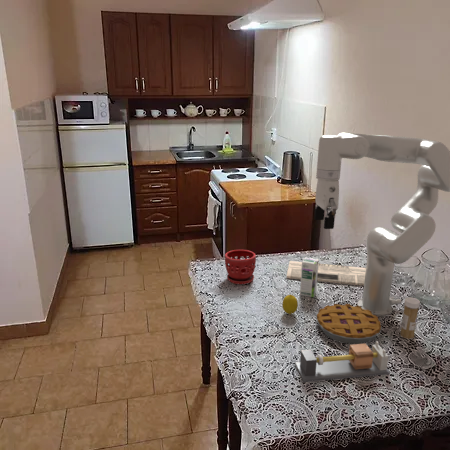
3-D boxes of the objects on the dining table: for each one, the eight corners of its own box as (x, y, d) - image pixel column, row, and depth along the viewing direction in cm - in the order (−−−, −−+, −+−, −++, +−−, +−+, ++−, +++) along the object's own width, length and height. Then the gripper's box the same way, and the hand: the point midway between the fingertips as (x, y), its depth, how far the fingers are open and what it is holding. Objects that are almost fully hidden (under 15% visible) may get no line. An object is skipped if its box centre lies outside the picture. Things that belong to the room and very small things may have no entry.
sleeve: (363, 357, 130) (365, 343, 128) (371, 368, 125) (373, 353, 123) (348, 359, 129) (349, 344, 127) (355, 369, 124) (357, 354, 123)
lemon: (296, 319, 154) (298, 299, 151) (281, 317, 155) (282, 297, 152) (297, 311, 159) (298, 292, 156) (282, 309, 160) (283, 290, 157)
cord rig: (376, 357, 132) (379, 338, 130) (389, 374, 125) (392, 353, 123) (295, 364, 129) (296, 344, 126) (303, 382, 121) (305, 361, 119)
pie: (308, 313, 158) (309, 301, 156) (366, 312, 159) (368, 300, 158) (325, 348, 137) (326, 334, 136) (391, 346, 138) (393, 333, 137)
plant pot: (260, 278, 186) (261, 252, 182) (245, 289, 176) (246, 262, 172) (234, 271, 193) (235, 246, 189) (218, 281, 182) (218, 255, 178)
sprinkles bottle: (414, 340, 141) (420, 304, 137) (400, 338, 143) (405, 302, 138) (413, 333, 145) (419, 297, 141) (399, 331, 147) (404, 295, 142)
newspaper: (286, 279, 186) (286, 274, 185) (290, 262, 204) (290, 257, 203) (375, 289, 178) (376, 282, 177) (371, 270, 196) (371, 264, 195)
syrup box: (299, 295, 171) (301, 261, 167) (302, 289, 176) (304, 256, 172) (313, 297, 169) (316, 264, 165) (316, 291, 174) (319, 258, 170)
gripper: (349, 179, 132) (344, 232, 137) (330, 169, 148) (325, 216, 153) (326, 179, 131) (321, 232, 136) (309, 169, 147) (305, 216, 152)
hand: (323, 224), depth 145 cm, fingers open, 9 cm apart
